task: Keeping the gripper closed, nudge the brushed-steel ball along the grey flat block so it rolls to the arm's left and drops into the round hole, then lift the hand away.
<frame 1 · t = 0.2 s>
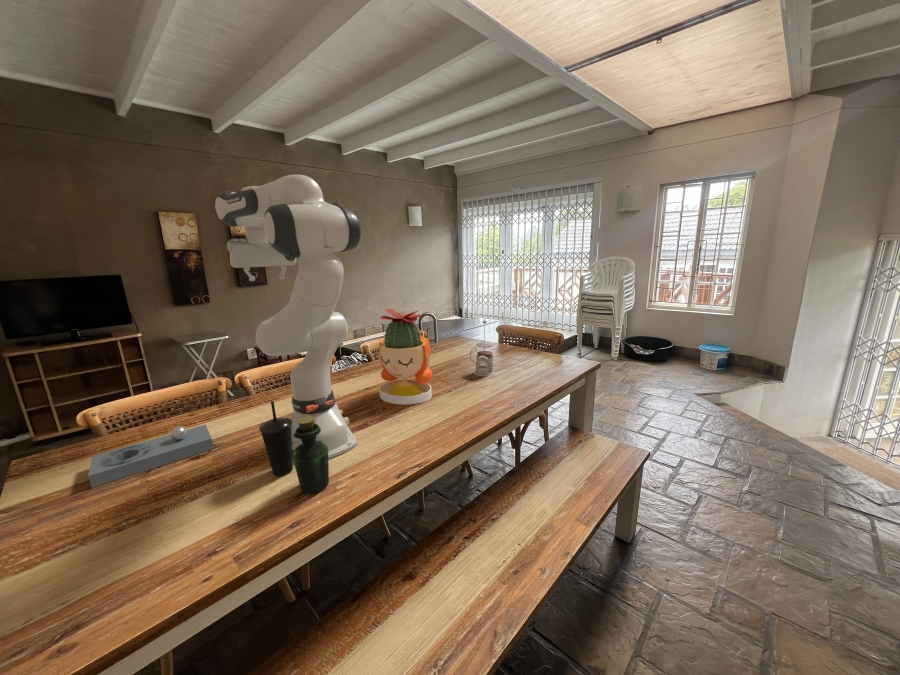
hand: (267, 280, 121), 47 cm above the table, fingers open, 8 cm apart
grey flat block: (157, 457, 100), on the table
potted cactus: (407, 393, 142), on the table
french press: (482, 373, 163), on the table
potion bottle: (315, 486, 87), on the table
drinking cup: (283, 471, 93), on the table
ball: (178, 433, 103), point 5 cm above the table, touching grey flat block
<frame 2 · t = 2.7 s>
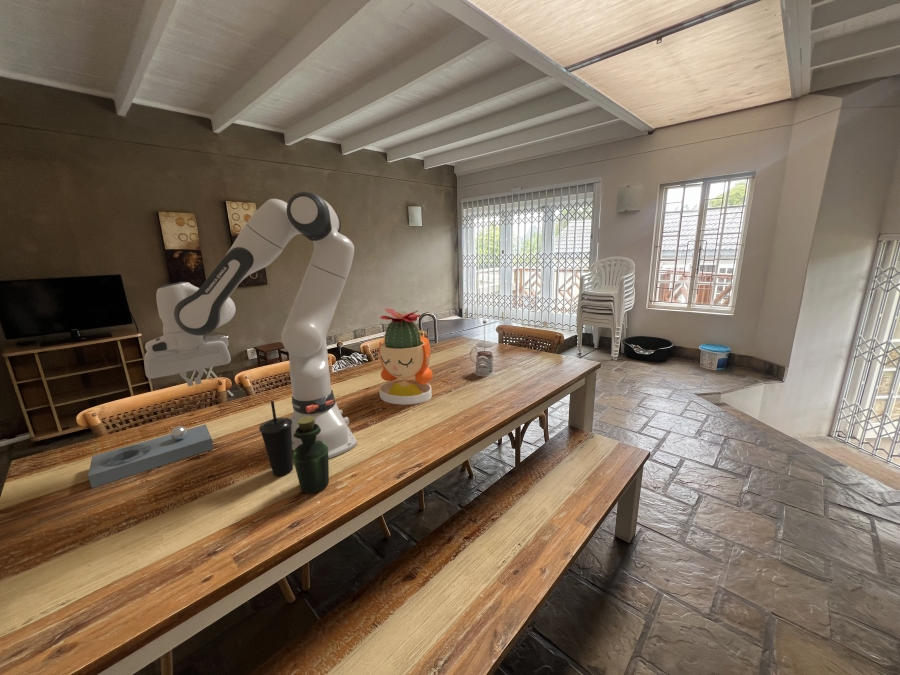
hand: (194, 384, 103), 19 cm above the table, fingers closed
nothing on the table moved.
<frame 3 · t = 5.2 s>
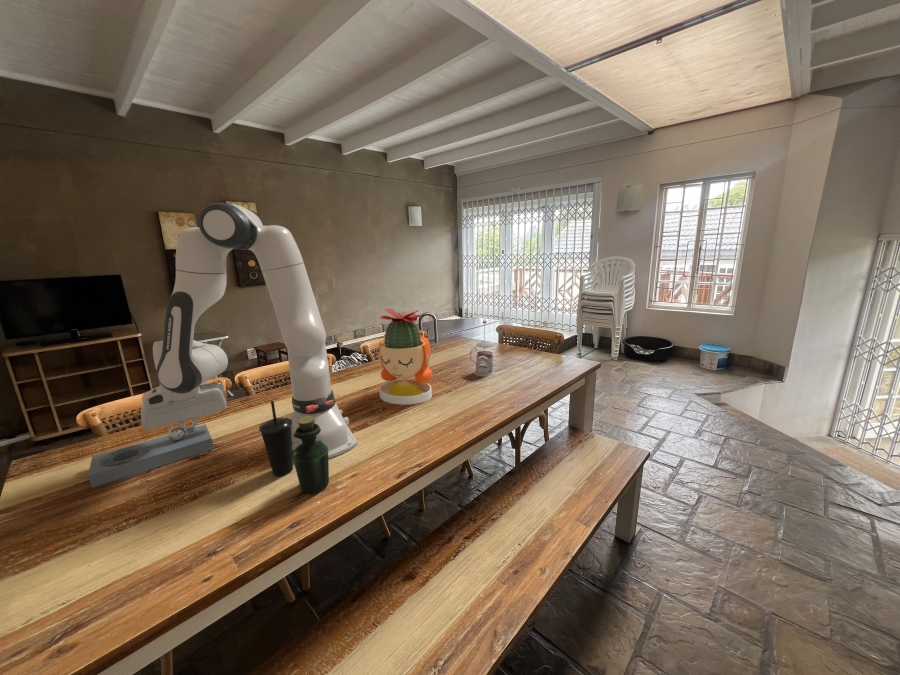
hand: (190, 432, 105), 5 cm above the table, fingers closed
ball: (176, 433, 103), point 5 cm above the table, tilted 16°, touching grey flat block, gripper
everything else where it was.
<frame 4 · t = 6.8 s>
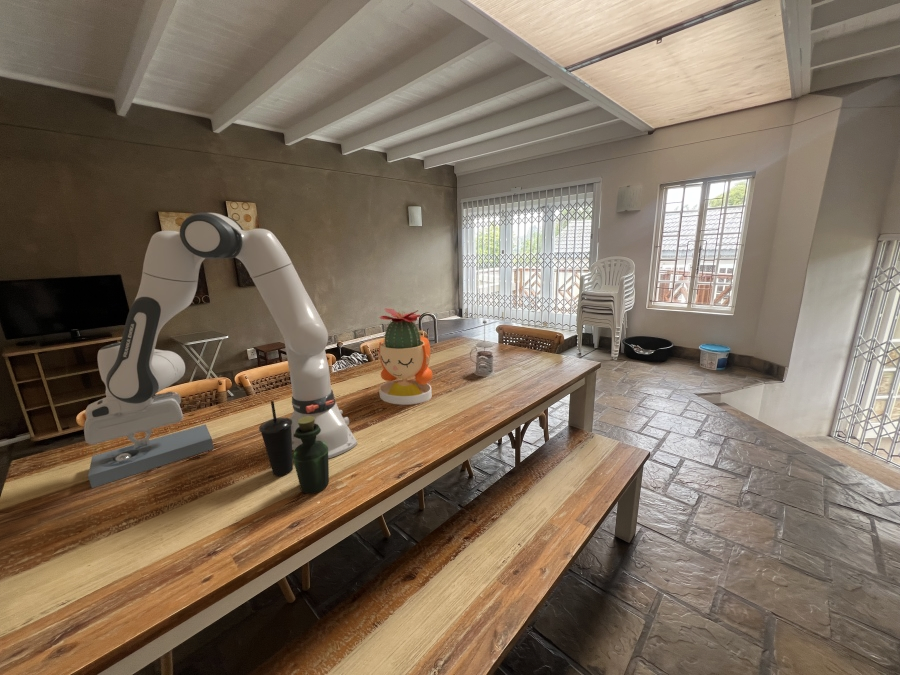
hand: (142, 445, 98), 5 cm above the table, fingers closed
ball: (123, 460, 96), point 2 cm above the table, tilted 48°
everything else where it was.
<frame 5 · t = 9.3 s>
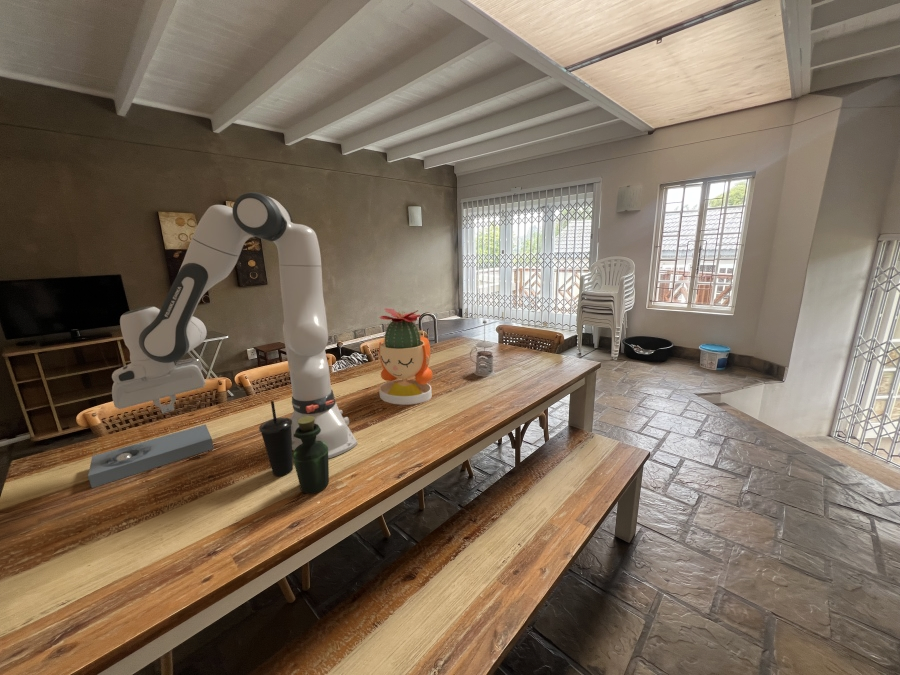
hand: (168, 411, 100), 13 cm above the table, fingers closed
ball: (124, 460, 96), point 2 cm above the table, tilted 43°
everything else where it was.
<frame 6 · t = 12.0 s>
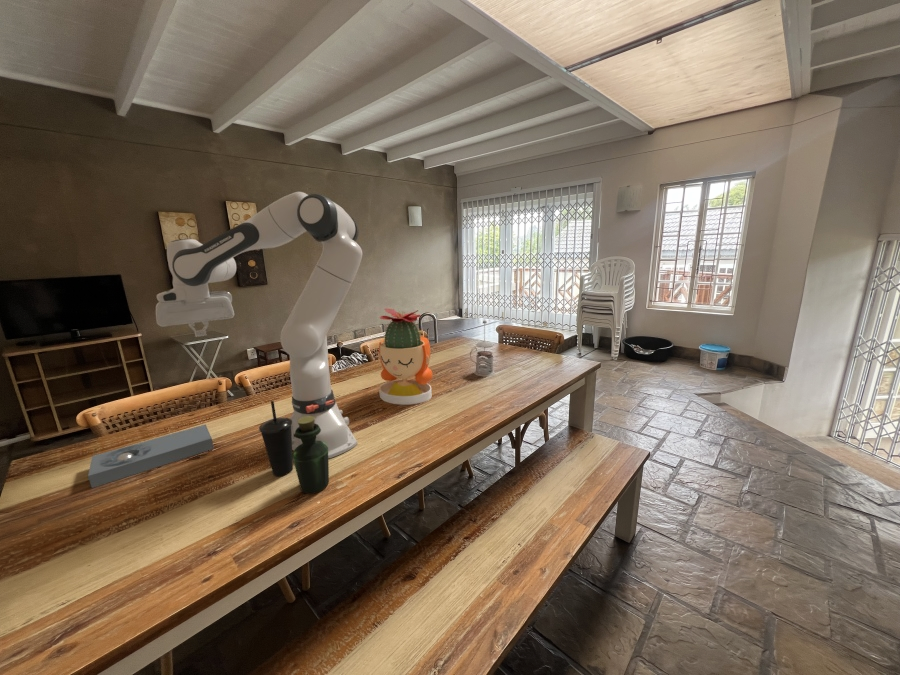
hand: (201, 335, 112), 31 cm above the table, fingers closed
ball: (125, 460, 96), point 2 cm above the table, tilted 37°
everything else where it was.
at the end: ball 0.3 cm from the target spot on the grey flat block, point 2.0 cm above the grey flat block's base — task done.
